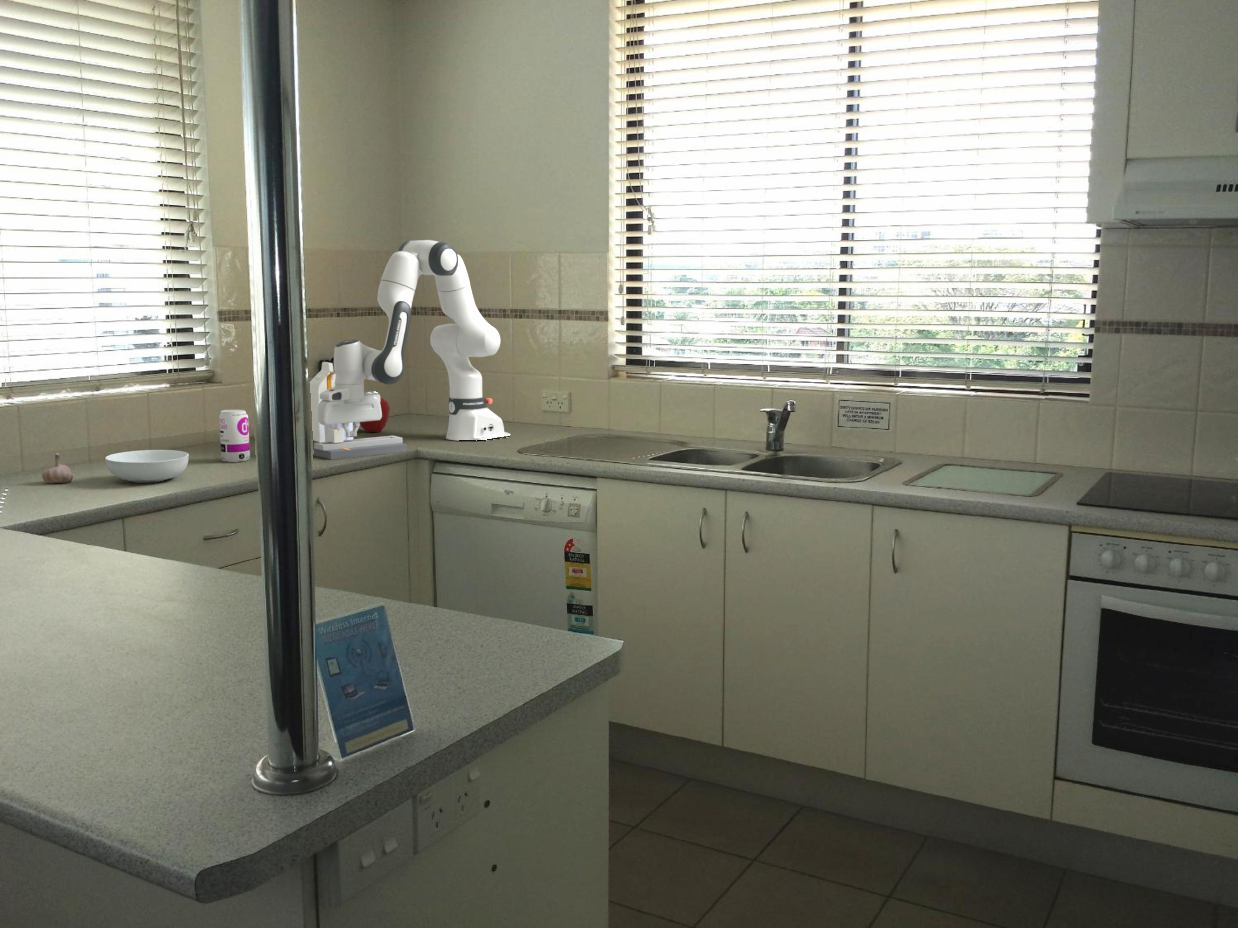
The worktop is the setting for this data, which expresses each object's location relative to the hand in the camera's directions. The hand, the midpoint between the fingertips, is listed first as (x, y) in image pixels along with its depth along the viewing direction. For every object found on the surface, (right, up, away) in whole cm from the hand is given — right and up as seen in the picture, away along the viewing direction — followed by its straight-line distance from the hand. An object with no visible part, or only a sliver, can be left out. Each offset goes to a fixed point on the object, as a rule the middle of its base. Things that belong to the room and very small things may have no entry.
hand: (351, 437), depth 353 cm
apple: (-4, +3, +51) cm, 51 cm away
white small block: (-4, -3, -3) cm, 6 cm away
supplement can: (-31, -8, -14) cm, 35 cm away
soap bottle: (-8, -2, +19) cm, 21 cm away
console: (+2, -5, +2) cm, 6 cm away
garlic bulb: (-66, -14, -51) cm, 85 cm away
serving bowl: (-44, -13, -47) cm, 65 cm away
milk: (-15, 0, +33) cm, 36 cm away
